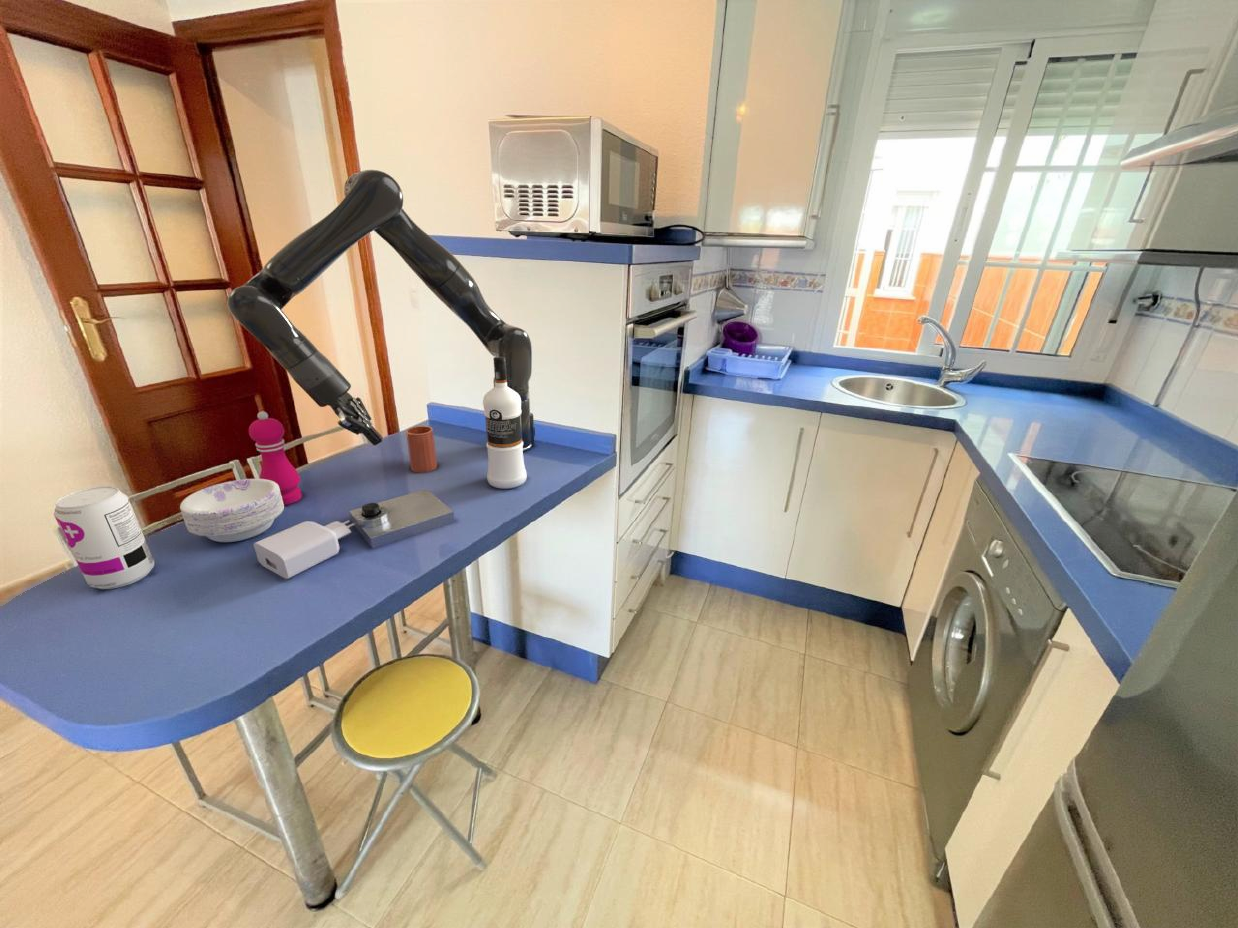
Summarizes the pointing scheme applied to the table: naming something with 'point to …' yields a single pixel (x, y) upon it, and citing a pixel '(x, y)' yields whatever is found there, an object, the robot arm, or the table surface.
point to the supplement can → (104, 536)
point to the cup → (421, 448)
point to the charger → (300, 547)
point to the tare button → (370, 510)
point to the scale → (402, 518)
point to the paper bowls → (233, 509)
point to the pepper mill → (275, 457)
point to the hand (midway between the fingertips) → (379, 442)
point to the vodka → (504, 432)
